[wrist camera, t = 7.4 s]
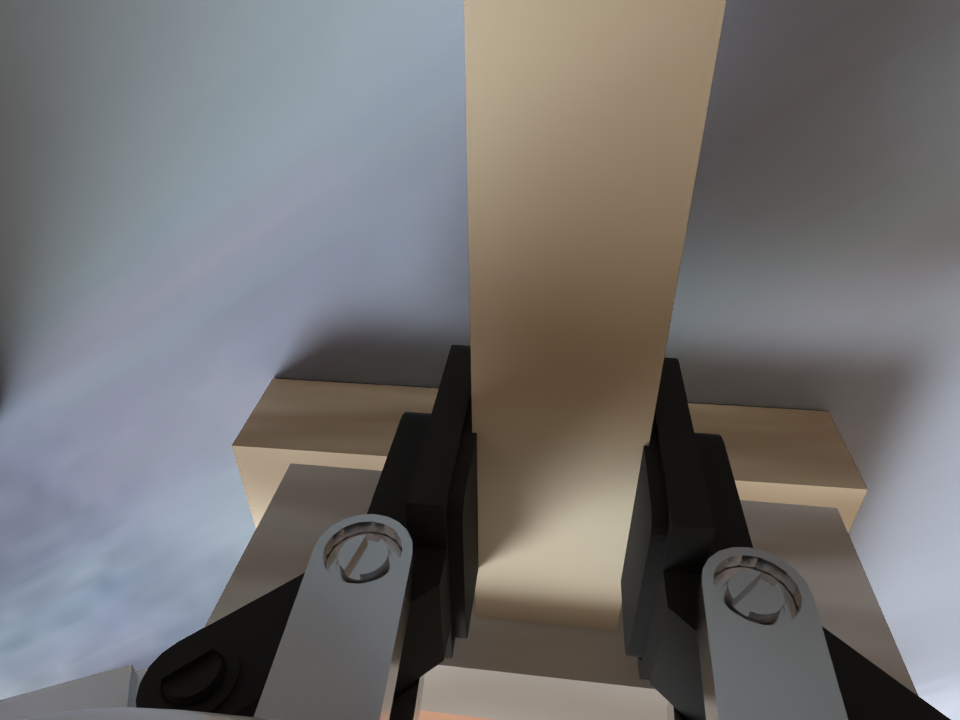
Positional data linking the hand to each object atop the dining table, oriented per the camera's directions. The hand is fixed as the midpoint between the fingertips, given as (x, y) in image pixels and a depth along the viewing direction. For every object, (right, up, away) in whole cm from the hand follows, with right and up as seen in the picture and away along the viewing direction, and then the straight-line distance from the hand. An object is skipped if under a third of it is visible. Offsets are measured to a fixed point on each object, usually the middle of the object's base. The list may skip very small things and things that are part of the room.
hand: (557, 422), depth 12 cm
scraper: (0, +3, 0) cm, 3 cm away
